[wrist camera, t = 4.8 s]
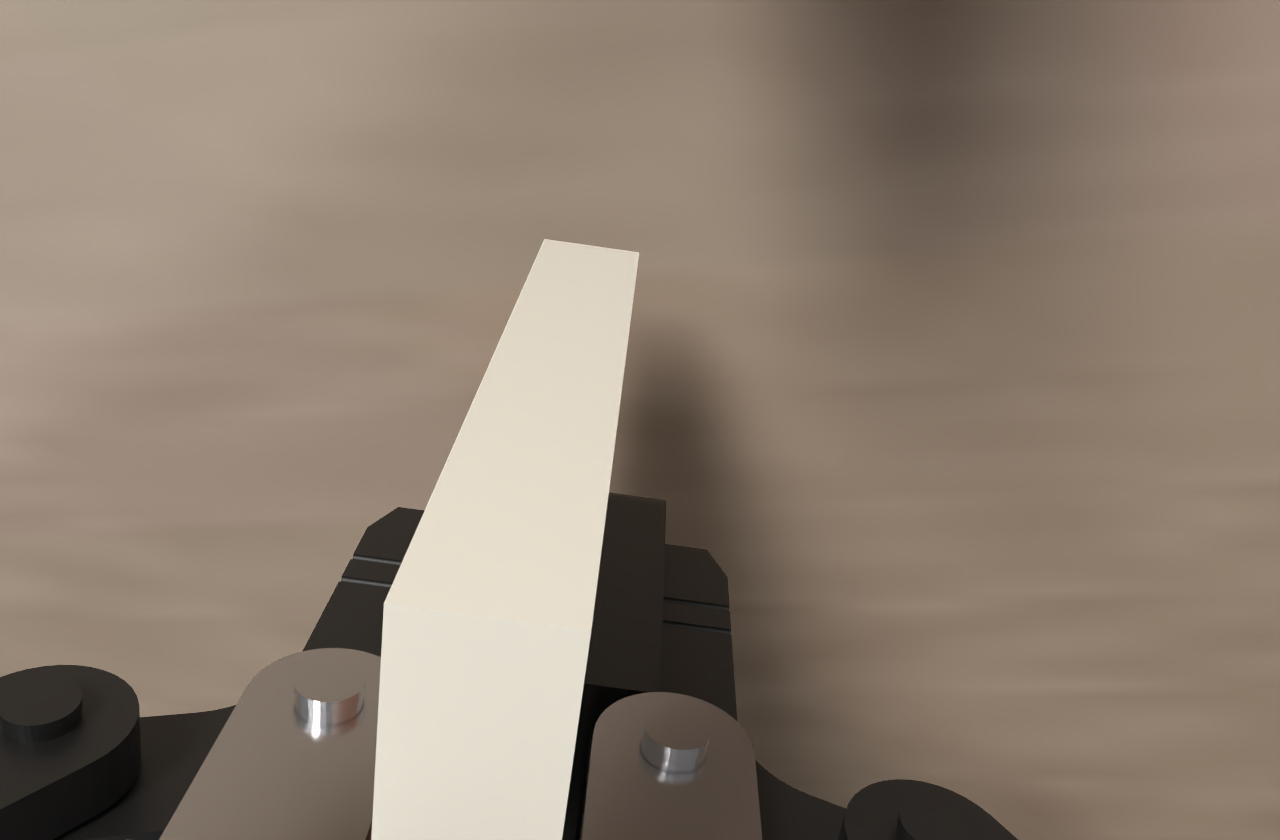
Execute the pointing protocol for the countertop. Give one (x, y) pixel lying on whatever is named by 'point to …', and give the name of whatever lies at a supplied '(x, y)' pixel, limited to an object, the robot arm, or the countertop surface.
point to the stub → (508, 572)
